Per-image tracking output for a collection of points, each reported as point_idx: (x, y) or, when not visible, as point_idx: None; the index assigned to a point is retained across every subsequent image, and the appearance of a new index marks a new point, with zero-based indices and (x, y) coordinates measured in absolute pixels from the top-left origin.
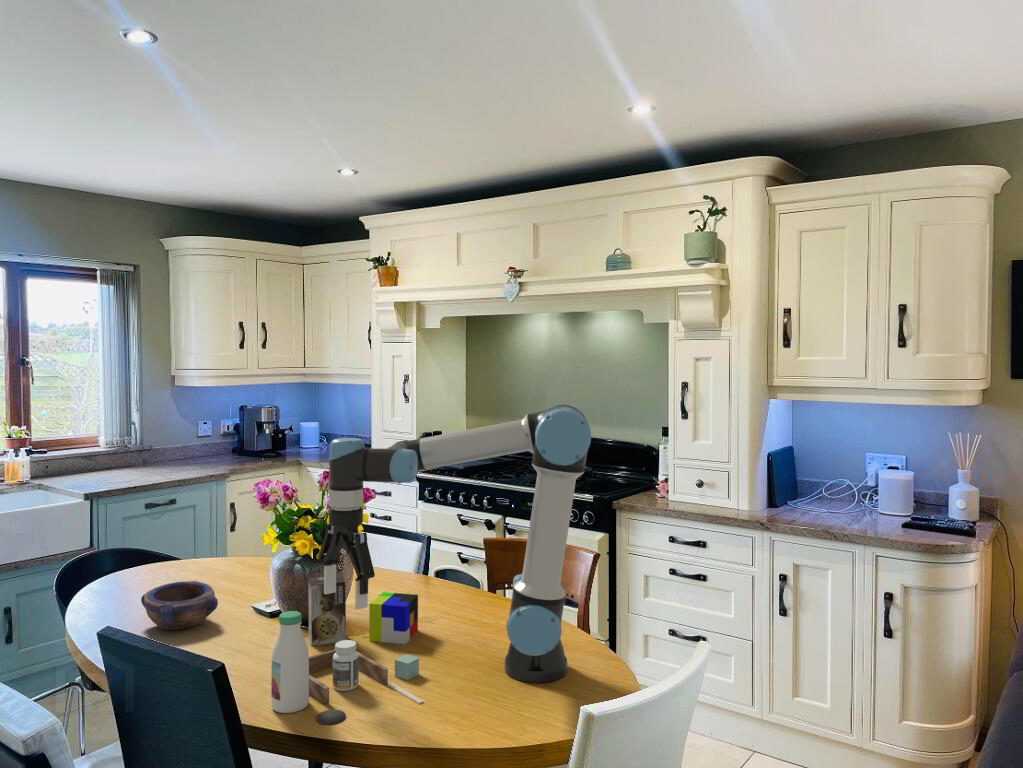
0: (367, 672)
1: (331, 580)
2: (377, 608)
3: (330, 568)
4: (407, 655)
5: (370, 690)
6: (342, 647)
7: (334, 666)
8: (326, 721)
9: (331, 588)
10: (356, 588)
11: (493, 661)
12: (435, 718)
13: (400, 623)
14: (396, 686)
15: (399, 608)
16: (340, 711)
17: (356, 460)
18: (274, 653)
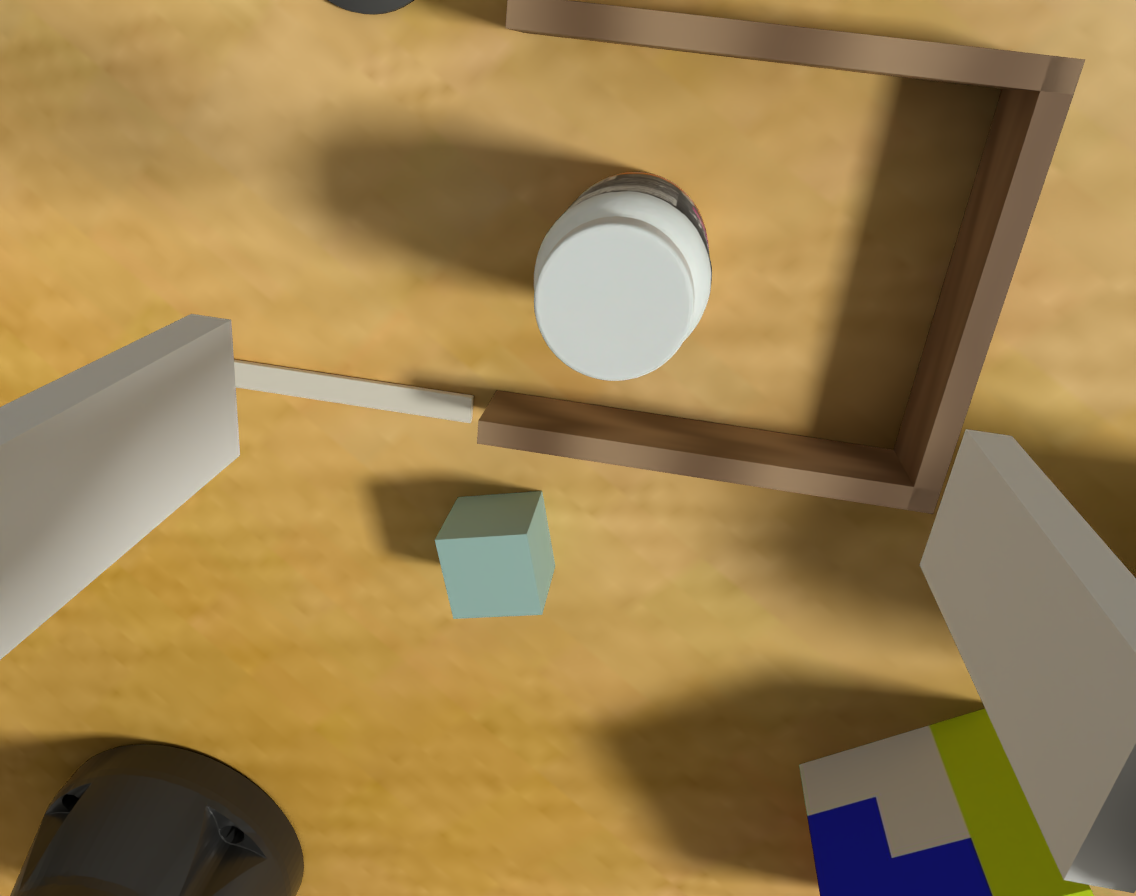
0: (656, 420)
1: (996, 607)
2: (1017, 877)
3: (1090, 737)
4: (522, 607)
5: (495, 303)
6: (571, 242)
7: (638, 187)
8: None
9: (958, 541)
10: (15, 411)
11: (353, 818)
12: (49, 304)
13: (842, 845)
14: (422, 408)
15: None
16: (377, 2)
17: None
18: None
